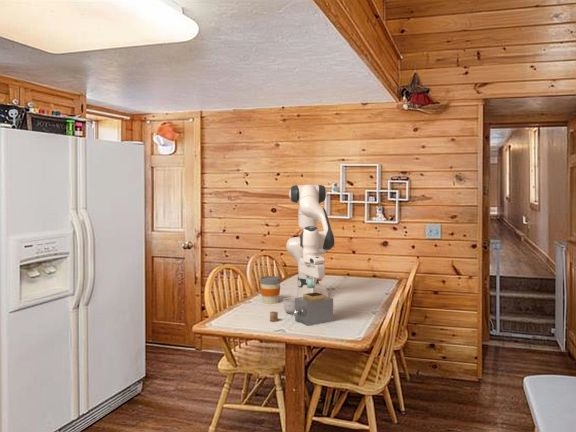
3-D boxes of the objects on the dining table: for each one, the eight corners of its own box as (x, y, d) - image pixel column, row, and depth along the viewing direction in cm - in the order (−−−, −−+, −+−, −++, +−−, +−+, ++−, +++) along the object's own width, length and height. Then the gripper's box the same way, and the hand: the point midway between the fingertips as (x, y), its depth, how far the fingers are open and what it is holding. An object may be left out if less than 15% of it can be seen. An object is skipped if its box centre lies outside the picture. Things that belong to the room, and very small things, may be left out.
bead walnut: (275, 319, 275) (275, 311, 274) (279, 321, 271) (279, 312, 271) (268, 320, 273) (268, 312, 272) (272, 322, 269) (272, 313, 269)
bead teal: (312, 286, 273) (312, 278, 272) (316, 287, 269) (316, 279, 269) (305, 287, 271) (305, 278, 270) (309, 288, 267) (309, 280, 267)
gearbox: (320, 316, 281) (320, 290, 280) (333, 321, 270) (333, 294, 269) (290, 321, 271) (290, 294, 270) (302, 326, 261) (302, 299, 260)
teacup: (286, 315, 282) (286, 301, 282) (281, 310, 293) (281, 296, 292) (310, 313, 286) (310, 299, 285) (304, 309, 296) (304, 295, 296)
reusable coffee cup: (281, 300, 319) (281, 276, 318) (279, 305, 306) (279, 280, 305) (261, 299, 320) (261, 275, 319) (258, 304, 307) (258, 279, 306)
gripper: (295, 255, 276) (295, 281, 277) (316, 261, 258) (316, 288, 260) (305, 254, 279) (305, 280, 280) (327, 260, 262) (327, 287, 263)
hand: (311, 284), depth 270 cm, fingers closed on bead teal, 4 cm apart
